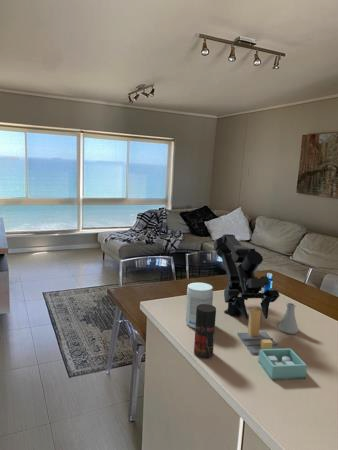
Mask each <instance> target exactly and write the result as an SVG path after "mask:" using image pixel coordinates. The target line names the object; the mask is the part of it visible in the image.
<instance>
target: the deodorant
mask: <svg viewBox="0 0 338 450" xmlns="http://www.w3.org/2000/svg"><path fill="white" fill-rule="evenodd" d="M216 316H217V307H216V306H215V305H213V304H212V305H208V304H200V305H198V306H197V309H196V325H195V328H194V342H193V343H194V344H193V345H194V346H193V355H194V356H195V357H196V358H199V359H202V360H203V359H204V360H208V359H211V358H212V357H213V356H214V343H215V331H216V330H215V329H216V319H217V317H216Z"/></svg>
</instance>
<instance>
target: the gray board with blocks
mask: <svg viewBox="0 0 338 450" xmlns="http://www.w3.org/2000/svg"><path fill="white" fill-rule="evenodd" d="M261 315H262V311H261V309H259V308H257V307H256V308H253V307H252V308H250V307H249V314H248V326H247V327H248V328H247V332H237V333H236V336H238V338H239V339H240V340H241V342H242V344H243V345H244V346H245V348H246V347H247V348H246V349H247V350H248V352H249V351H250V352H249V353H250V354H251V355H252V354H255V355H259V349H282V348H281V346H280V345H279V344H278V342H276V341H275V340H274V339H273V337H271V336H270V335H269V333H267V332H266V331H260V325H261V317H262V316H261Z"/></svg>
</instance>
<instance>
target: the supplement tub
mask: <svg viewBox="0 0 338 450" xmlns="http://www.w3.org/2000/svg"><path fill="white" fill-rule="evenodd" d="M213 297H214V287H213V285H211V284H209V283H206V282H191V283H188V285H187V289H186V304H185V305H186V309H185V310H186V311H185V323H186V324H187V326H188V327H190V328H193V329H195V325H196V309H197V306H198V305H200V304H208V305H212V306H213V299H214V298H213Z"/></svg>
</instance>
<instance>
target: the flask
mask: <svg viewBox="0 0 338 450" xmlns="http://www.w3.org/2000/svg"><path fill="white" fill-rule="evenodd" d="M296 305H297V304H295V303H294V302H287V303H286V309H285V313H284V316H283V317H282V319H281V320H280V323H279V325H278V329H279V331H280V332H283V333H286V334H290V335H292V334H293V335H296V334H298V333H299V332H300V331H299V327H298V323H297V319H296V315H295V307H296Z"/></svg>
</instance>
